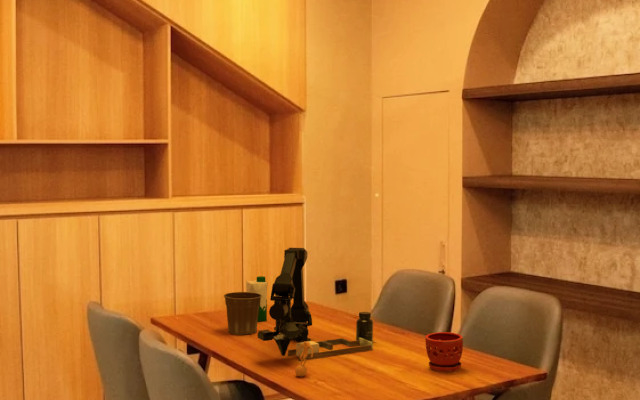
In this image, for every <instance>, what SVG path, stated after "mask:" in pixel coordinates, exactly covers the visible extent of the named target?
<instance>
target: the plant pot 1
mask: <svg viewBox="0 0 640 400" xmlns="http://www.w3.org/2000/svg"><path fill="white" fill-rule="evenodd" d="M261 297H262V295H261V294H259V293H253V292H246V291H236V292H228V293H225V294H224V295H223V298H224V301H225V306H226V317H227V331H228V333H230V334H231V335H235V336H245V335H253V334H256V333H258V332H257V331H258V330H257V329H258V323H259V322H258V312H259V305H260V300H261Z"/></svg>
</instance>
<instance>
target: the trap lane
mask: <svg viewBox="0 0 640 400" xmlns="http://www.w3.org/2000/svg"><path fill="white" fill-rule="evenodd" d="M315 342H316V343H318V344H319V348H320V347H321V348H324V349H326V350H325V351H319V352H318V353H313V357H312V358H311V355H312V353H311V354H308V355H307V357H306V358H305V359H306V361H311V360H314V359H322V358H323V359H324V358H328V357H334V356H343V355H349V354H355V353H360V352H361V353H363V352H368V351H373V349H374V341H372V342H370V341H368V340H365V339H363V338H359V340H356V339H355V340H351V341H350V340H348V339H346V338H335V339H327V340H319V341H315ZM341 344H342V345H345V346H347V348H346V347H345V348H340V349H334V348H333V347H334V345H336V346H337V345H341ZM295 355H296V348H293V349H287V356H289V357H290V356H295ZM302 359H303V357H302ZM298 361H299V362H302V360H301V359H300V355H299V357H298Z"/></svg>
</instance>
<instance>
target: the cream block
mask: <svg viewBox="0 0 640 400" xmlns="http://www.w3.org/2000/svg"><path fill="white" fill-rule="evenodd" d="M308 342H309V343H310V345H311V347H312V348H313V353H318V352H320V347H319V344H318V343H316V342H317V341H313V340H308ZM303 343H304V341H301V342H296V344H295V345H296V346H295V347H296V348H295V349H296V351H297V349H298V348H299V347H300V346H301V345H303ZM302 351H304V349H303V346H302V347H301V348H300V349H299V350H298V351H297V352H296V357H297V358H299V355H301V354H302ZM307 352H308V354H311V353H312V349H311V348H309V350H308V351H307Z"/></svg>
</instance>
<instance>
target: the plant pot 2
mask: <svg viewBox="0 0 640 400" xmlns="http://www.w3.org/2000/svg"><path fill="white" fill-rule="evenodd" d="M425 349H426V355H427V357H428V360H429V362H428V366H429V367H430V369H432V370H433V371H436V372H442V373H443V372H444V373H445V372H446V373H450V372H454V371H457V370H459V369H460V368H461V367H462V363H461V359H462V356H463V349H464V339H463V336H462V335H461V334H459V333H456V332H448V331H447V332H446V331H442V332H440V331H439V332H438V331H437V332H431V333H428V334H426V335H425Z"/></svg>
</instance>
